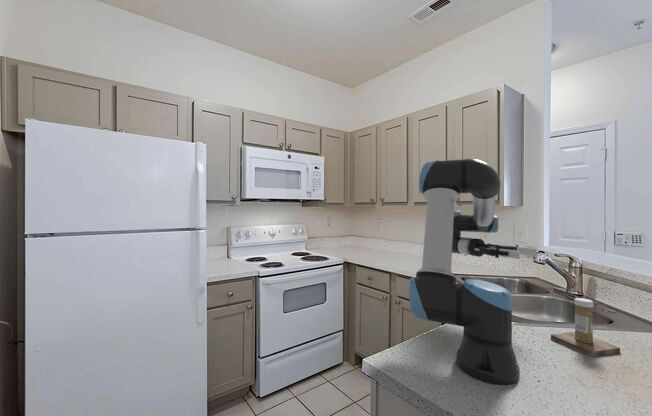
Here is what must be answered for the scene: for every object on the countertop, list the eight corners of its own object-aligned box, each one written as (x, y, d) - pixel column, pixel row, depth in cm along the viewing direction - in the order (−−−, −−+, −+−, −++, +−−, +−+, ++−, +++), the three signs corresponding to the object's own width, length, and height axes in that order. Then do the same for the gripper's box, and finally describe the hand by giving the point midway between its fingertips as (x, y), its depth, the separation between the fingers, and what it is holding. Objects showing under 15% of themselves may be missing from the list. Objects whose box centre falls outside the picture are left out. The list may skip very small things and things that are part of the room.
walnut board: (590, 356, 85) (590, 351, 85) (550, 338, 97) (550, 334, 97) (620, 352, 88) (620, 347, 88) (578, 335, 99) (578, 331, 99)
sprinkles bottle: (597, 343, 90) (597, 301, 91) (584, 344, 90) (585, 302, 90) (582, 337, 95) (582, 297, 95) (570, 338, 94) (570, 297, 94)
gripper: (487, 253, 129) (542, 260, 111) (454, 257, 116) (511, 267, 98) (487, 237, 129) (542, 241, 111) (455, 239, 116) (511, 245, 98)
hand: (528, 253), depth 105 cm, fingers open, 13 cm apart
